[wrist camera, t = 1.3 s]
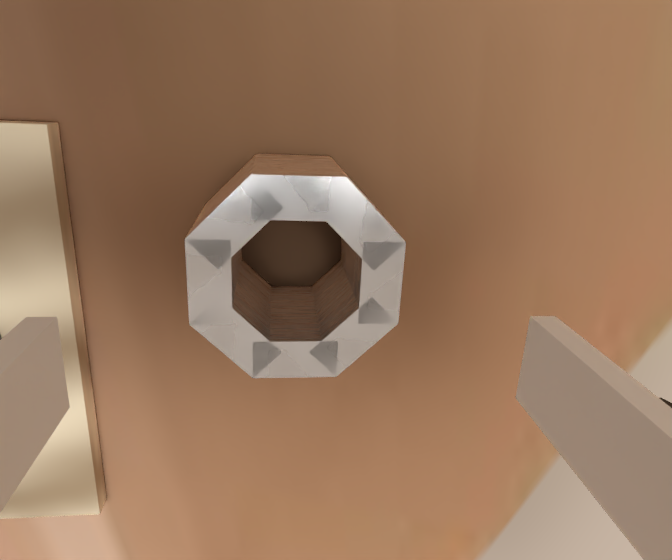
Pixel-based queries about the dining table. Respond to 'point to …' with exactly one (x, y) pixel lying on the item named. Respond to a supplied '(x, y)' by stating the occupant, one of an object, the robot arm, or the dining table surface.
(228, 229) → the hub
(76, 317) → the shaft stand
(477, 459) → the dining table surface
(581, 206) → the dining table surface
